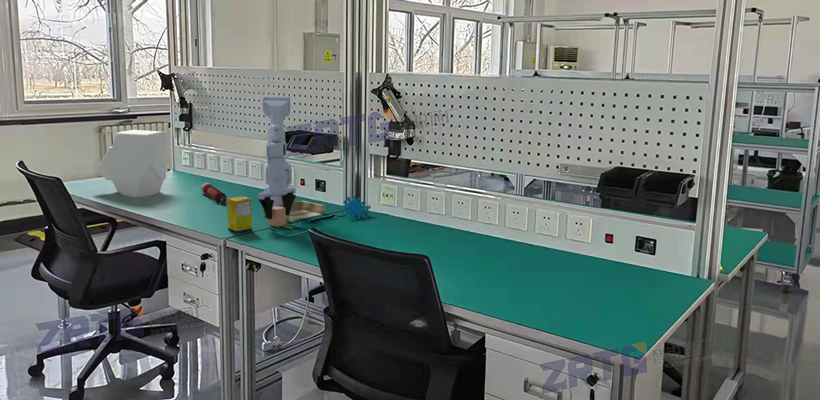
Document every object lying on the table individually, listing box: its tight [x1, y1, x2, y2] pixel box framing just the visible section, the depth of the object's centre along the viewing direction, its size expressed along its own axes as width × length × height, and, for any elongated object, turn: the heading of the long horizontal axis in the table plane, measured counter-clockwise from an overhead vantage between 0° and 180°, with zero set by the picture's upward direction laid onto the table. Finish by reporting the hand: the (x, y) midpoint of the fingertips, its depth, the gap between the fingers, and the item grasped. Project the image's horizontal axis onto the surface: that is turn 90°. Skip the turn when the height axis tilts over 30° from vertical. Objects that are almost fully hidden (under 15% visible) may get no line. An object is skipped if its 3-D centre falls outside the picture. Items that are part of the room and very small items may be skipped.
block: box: [268, 206, 287, 228], centre depth 219 cm, size 4×4×6 cm
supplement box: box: [226, 195, 253, 234], centre depth 212 cm, size 6×6×11 cm
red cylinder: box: [200, 182, 228, 204], centre depth 262 cm, size 5×5×30 cm
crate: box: [263, 199, 326, 223], centre depth 234 cm, size 13×18×4 cm
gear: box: [342, 195, 372, 220], centre depth 235 cm, size 11×6×10 cm
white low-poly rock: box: [95, 129, 169, 198], centre depth 269 cm, size 21×27×26 cm
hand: (278, 216), depth 219 cm, fingers open, 7 cm apart
